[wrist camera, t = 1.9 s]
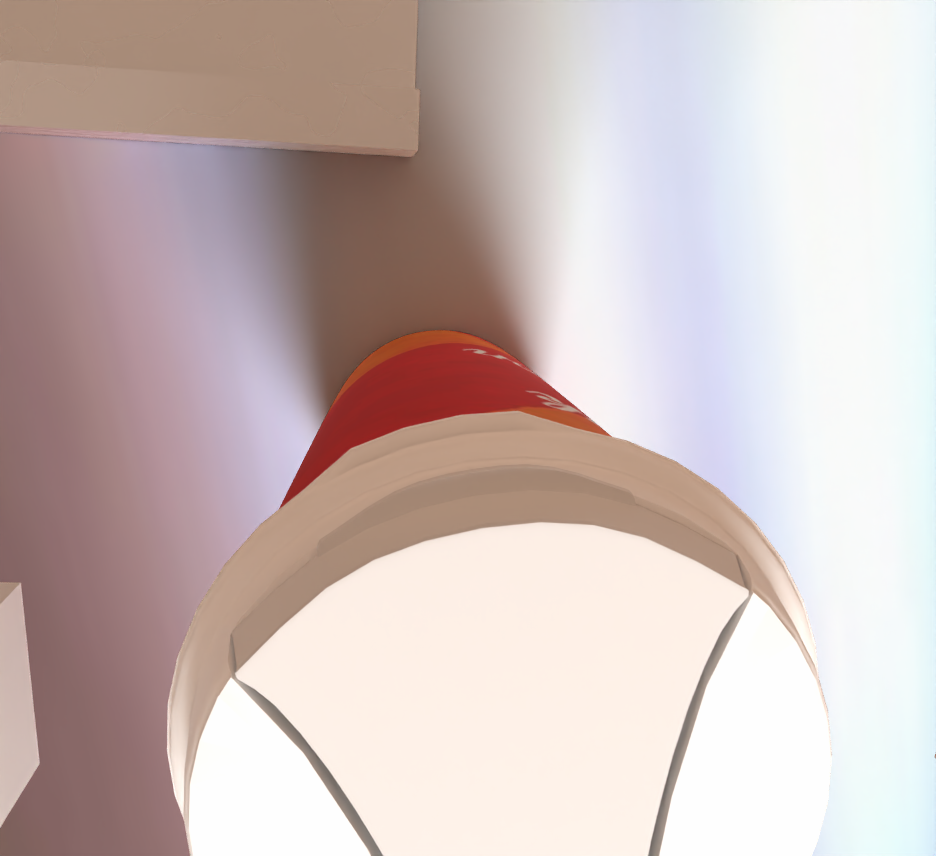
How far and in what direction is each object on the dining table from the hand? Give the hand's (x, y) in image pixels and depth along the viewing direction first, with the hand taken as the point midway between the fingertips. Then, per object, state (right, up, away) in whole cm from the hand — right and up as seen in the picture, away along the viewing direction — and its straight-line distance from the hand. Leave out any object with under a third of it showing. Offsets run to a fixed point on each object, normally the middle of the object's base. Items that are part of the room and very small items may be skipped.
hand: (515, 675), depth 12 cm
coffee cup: (-2, +3, +12) cm, 13 cm away
